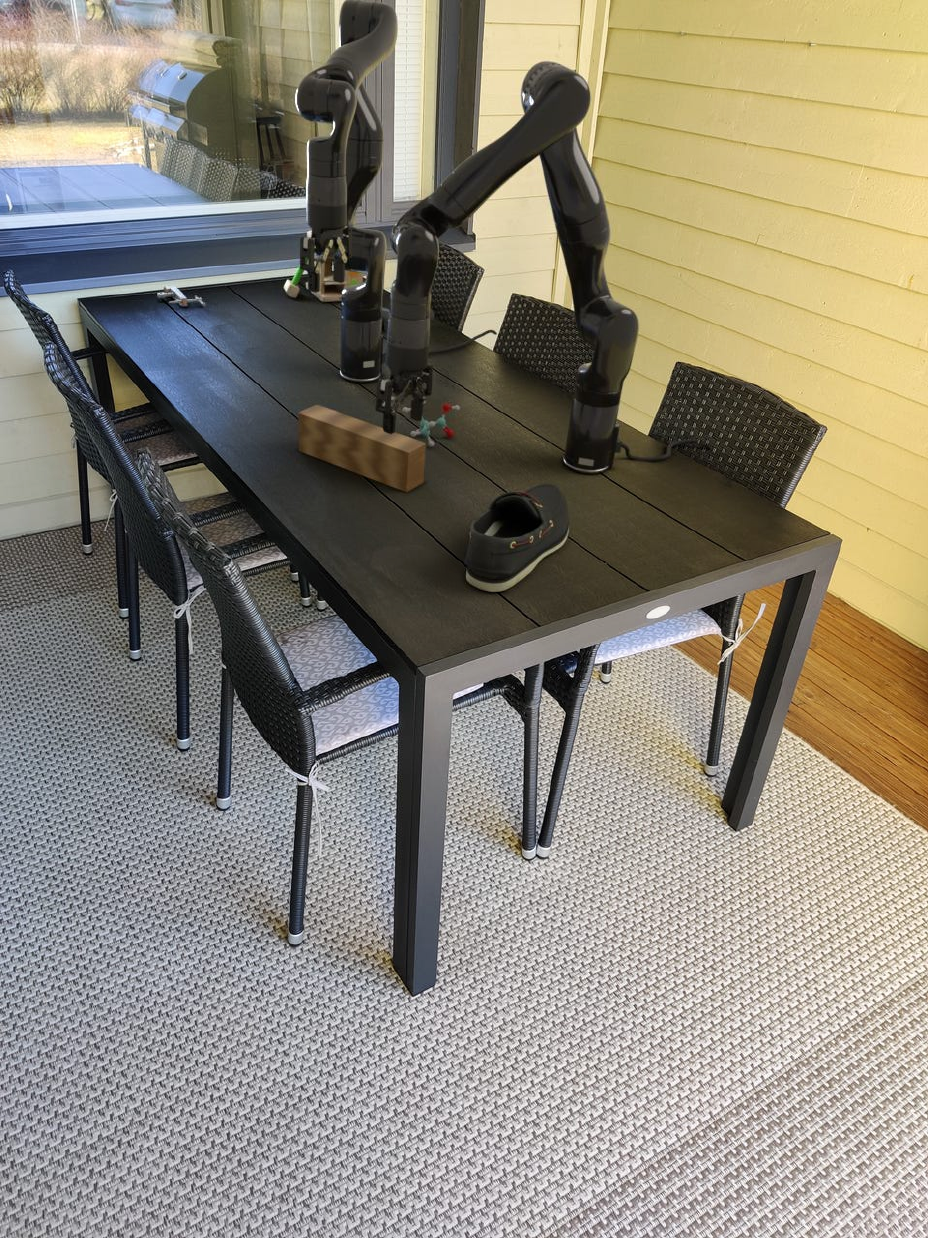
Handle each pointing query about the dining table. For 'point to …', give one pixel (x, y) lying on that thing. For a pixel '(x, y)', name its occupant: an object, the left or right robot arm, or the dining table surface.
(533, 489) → the boat shoe
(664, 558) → the dining table surface
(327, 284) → the pounding bench toy
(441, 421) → the molecular model
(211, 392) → the dining table surface
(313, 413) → the bar
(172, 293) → the clamp
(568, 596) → the dining table surface
